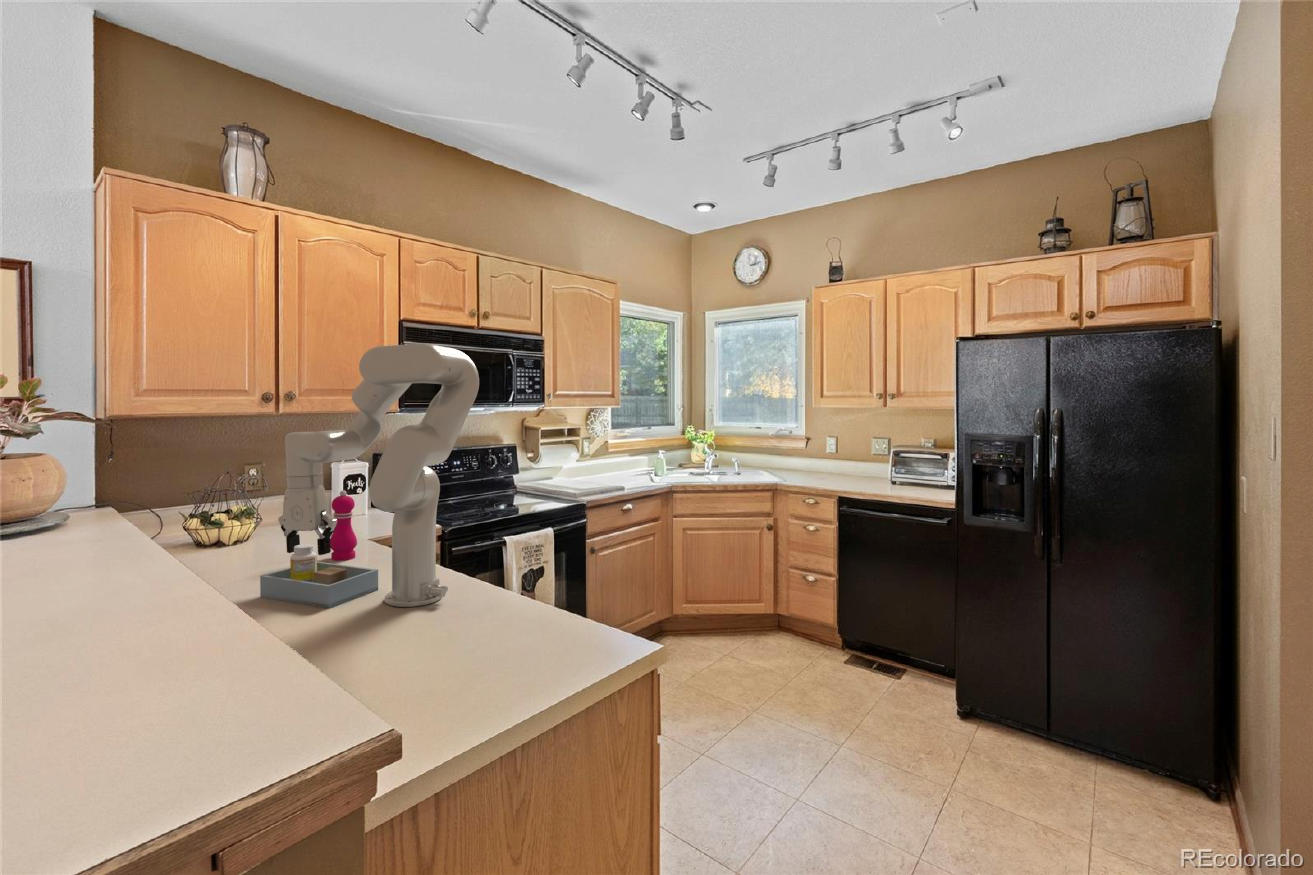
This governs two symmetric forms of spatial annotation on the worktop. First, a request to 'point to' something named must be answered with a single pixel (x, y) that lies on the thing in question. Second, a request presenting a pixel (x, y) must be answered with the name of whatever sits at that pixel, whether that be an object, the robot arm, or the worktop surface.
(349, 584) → the tote
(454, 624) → the worktop surface
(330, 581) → the walnut cube
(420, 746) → the worktop surface
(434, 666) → the worktop surface
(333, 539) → the pepper mill
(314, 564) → the supplement bottle
